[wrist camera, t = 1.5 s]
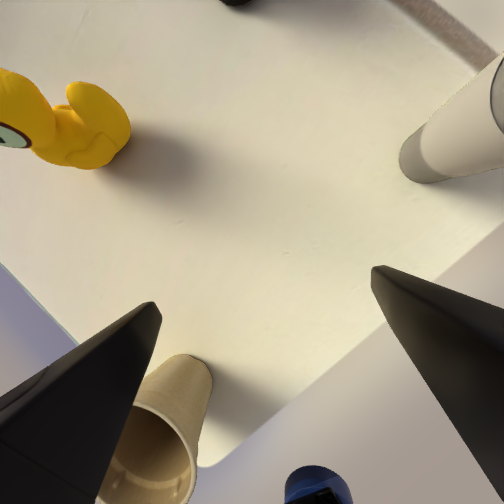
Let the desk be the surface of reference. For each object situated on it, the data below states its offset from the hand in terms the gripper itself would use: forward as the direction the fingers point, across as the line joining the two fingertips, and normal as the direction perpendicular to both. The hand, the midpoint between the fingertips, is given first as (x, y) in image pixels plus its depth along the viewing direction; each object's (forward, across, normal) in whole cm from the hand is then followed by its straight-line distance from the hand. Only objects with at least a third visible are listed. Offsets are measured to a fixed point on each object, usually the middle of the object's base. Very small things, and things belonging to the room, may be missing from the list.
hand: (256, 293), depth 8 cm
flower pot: (+7, +12, +16) cm, 21 cm away
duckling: (+17, +16, -9) cm, 25 cm away
